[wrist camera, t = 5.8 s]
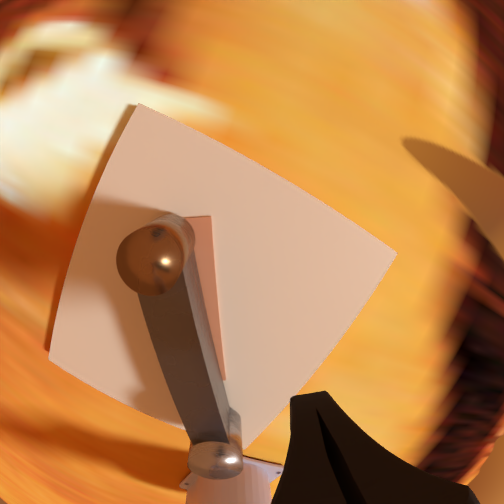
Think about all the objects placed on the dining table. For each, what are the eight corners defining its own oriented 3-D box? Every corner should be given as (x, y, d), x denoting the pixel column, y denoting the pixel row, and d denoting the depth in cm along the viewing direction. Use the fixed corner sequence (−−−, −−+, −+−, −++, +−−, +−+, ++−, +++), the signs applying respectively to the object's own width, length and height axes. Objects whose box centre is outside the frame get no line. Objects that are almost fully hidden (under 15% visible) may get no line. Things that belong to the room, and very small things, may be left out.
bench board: (244, 441, 22) (244, 451, 21) (53, 353, 19) (47, 360, 18) (390, 249, 18) (399, 253, 17) (143, 106, 15) (137, 102, 14)
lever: (244, 432, 20) (246, 477, 16) (199, 435, 20) (195, 480, 16) (198, 208, 16) (183, 223, 11) (135, 219, 16) (101, 237, 11)
